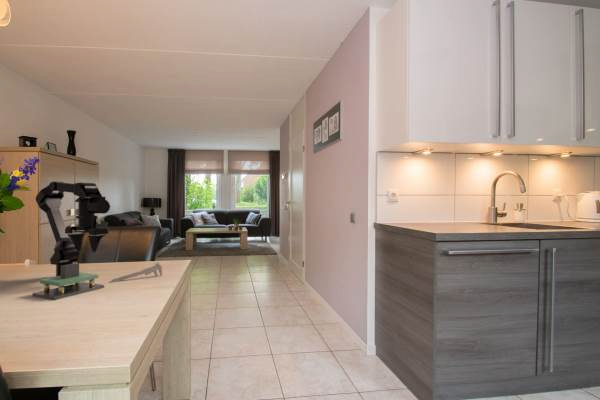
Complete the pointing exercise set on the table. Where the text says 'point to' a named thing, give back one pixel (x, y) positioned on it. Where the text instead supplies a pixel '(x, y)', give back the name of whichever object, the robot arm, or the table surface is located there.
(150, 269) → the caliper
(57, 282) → the board
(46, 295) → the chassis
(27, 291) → the table surface
